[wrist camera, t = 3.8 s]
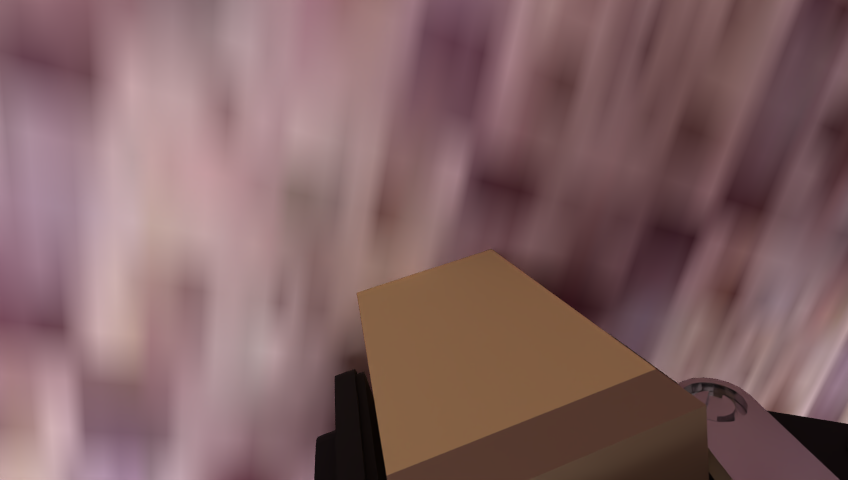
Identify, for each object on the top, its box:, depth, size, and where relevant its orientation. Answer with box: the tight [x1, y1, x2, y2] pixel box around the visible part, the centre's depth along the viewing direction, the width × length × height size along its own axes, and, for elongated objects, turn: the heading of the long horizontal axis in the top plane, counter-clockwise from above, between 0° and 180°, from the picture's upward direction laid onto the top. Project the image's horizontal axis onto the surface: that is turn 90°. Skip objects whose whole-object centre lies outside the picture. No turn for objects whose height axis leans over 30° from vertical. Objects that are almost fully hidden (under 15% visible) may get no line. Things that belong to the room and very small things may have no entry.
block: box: [357, 249, 709, 480], centre depth 9 cm, size 4×6×7 cm, turn 15°
